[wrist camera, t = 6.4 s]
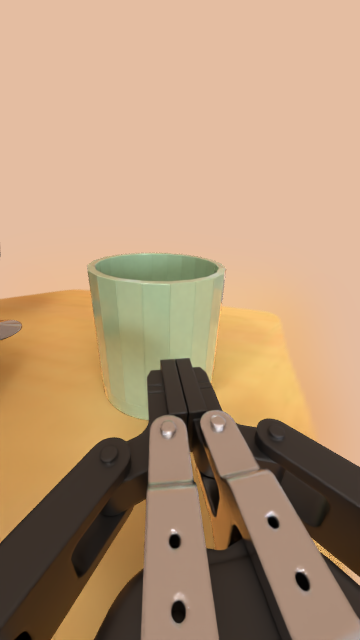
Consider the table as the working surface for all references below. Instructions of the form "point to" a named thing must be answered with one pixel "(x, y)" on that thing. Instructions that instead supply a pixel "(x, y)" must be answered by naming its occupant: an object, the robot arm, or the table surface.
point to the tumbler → (153, 319)
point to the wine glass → (9, 328)
